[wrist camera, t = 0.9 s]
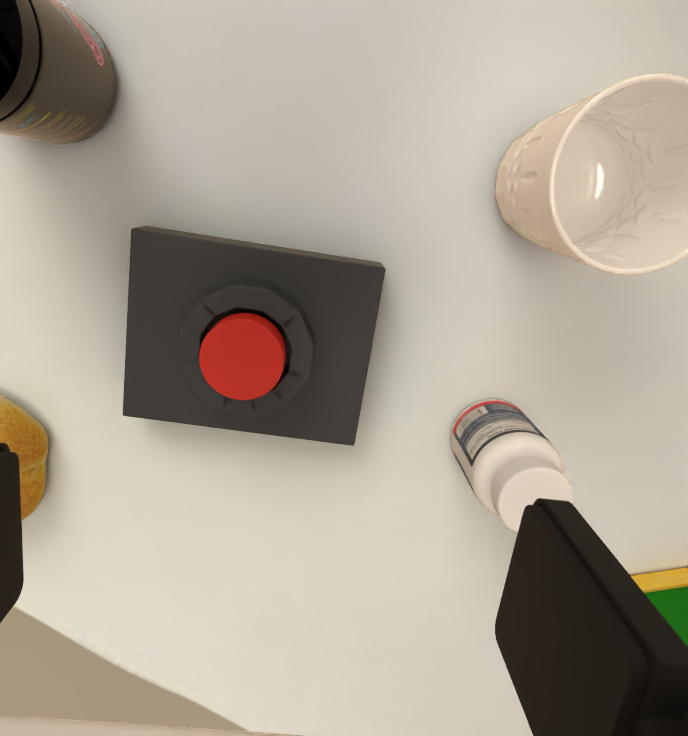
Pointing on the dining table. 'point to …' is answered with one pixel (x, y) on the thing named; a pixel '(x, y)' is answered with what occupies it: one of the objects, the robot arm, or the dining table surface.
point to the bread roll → (25, 451)
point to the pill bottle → (507, 460)
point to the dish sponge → (668, 596)
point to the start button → (243, 356)
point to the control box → (257, 296)
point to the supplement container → (52, 73)
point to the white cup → (605, 178)
